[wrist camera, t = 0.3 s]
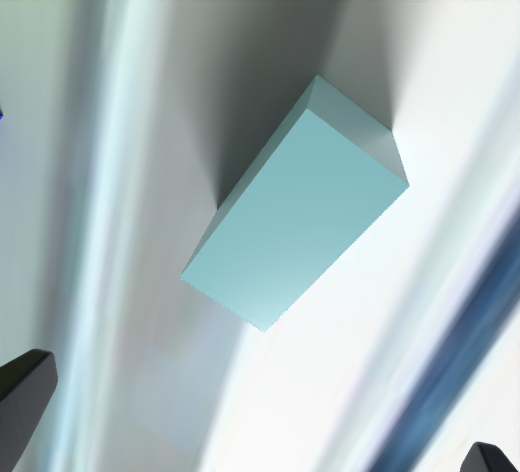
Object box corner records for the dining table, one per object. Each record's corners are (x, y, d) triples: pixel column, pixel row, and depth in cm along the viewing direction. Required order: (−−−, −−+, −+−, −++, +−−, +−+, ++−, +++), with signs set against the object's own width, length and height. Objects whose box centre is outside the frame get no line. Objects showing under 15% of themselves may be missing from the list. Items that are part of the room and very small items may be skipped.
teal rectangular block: (391, 131, 19) (409, 186, 14) (282, 254, 23) (264, 332, 18) (317, 73, 18) (306, 108, 13) (217, 209, 22) (179, 277, 17)
